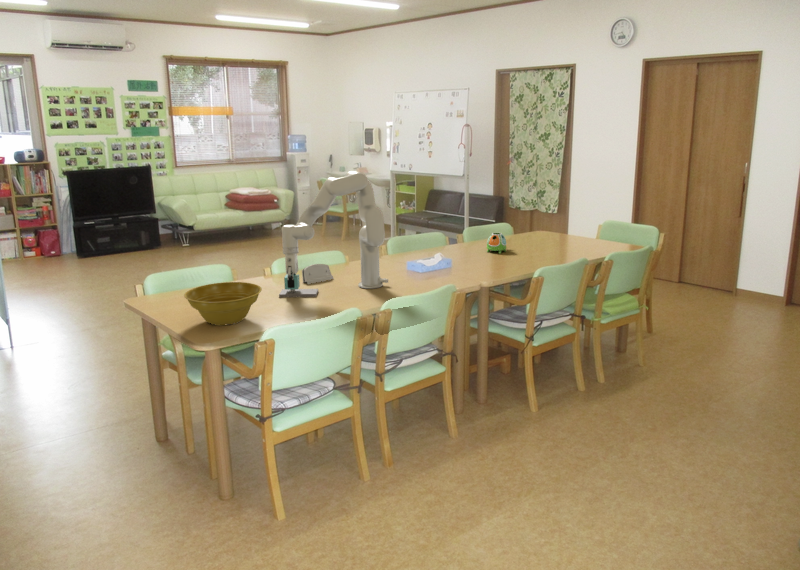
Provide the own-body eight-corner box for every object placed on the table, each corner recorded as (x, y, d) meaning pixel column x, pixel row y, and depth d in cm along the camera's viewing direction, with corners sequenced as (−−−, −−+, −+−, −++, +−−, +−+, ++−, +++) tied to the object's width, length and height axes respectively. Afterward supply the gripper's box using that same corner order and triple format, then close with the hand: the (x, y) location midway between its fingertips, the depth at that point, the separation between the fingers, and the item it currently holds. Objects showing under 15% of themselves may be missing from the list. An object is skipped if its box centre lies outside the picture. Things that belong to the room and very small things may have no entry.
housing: (299, 286, 326) (299, 274, 325) (297, 289, 320) (297, 277, 319) (286, 286, 326) (286, 274, 325) (284, 289, 320) (284, 277, 319)
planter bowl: (202, 338, 262) (199, 305, 258) (176, 319, 287) (173, 289, 284) (276, 322, 280) (274, 292, 276) (245, 306, 305) (243, 278, 302)
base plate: (318, 291, 329) (317, 281, 328) (316, 296, 319) (315, 287, 318) (282, 292, 329) (281, 282, 328) (279, 297, 319) (278, 287, 318)
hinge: (307, 284, 344) (303, 265, 344) (303, 285, 348) (299, 267, 348) (334, 279, 354) (330, 261, 354) (329, 280, 358) (326, 262, 358)
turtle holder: (510, 249, 428) (511, 231, 425) (502, 254, 412) (503, 235, 409) (492, 247, 433) (493, 230, 430) (483, 252, 418) (484, 234, 415)
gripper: (295, 253, 310) (297, 290, 315) (300, 246, 327) (302, 281, 331) (279, 253, 310) (281, 290, 315) (285, 246, 327) (287, 281, 331)
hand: (292, 285), depth 323 cm, fingers closed on housing, 6 cm apart
